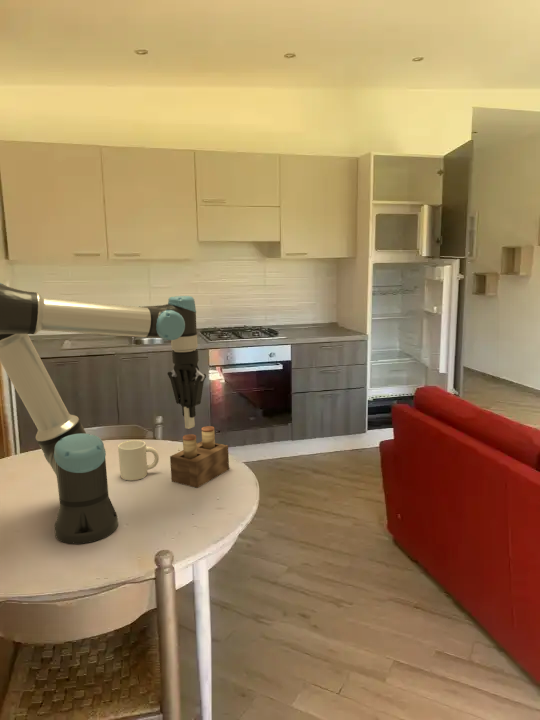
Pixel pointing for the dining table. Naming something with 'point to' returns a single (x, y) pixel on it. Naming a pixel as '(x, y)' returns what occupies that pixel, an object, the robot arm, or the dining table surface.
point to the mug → (135, 459)
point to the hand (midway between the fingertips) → (189, 427)
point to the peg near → (189, 446)
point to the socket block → (199, 465)
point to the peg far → (208, 437)
